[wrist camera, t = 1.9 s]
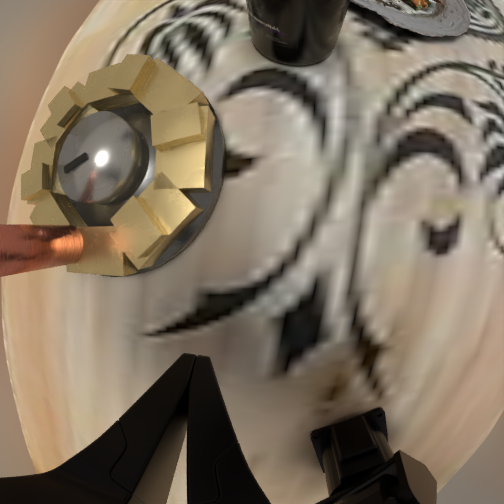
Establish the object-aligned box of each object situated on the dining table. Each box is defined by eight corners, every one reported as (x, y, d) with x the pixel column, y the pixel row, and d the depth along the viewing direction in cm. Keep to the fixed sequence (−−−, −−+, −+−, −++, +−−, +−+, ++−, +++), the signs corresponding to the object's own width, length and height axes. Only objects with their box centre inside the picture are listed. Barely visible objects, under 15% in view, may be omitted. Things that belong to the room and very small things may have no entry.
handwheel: (219, 60, 16) (184, -37, 6) (211, 275, 17) (139, 323, 7) (60, 98, 17) (-9, 60, 7) (43, 265, 18) (-45, 280, 8)
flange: (274, 174, 18) (274, 154, 13) (114, 313, 19) (79, 332, 14) (153, 50, 17) (131, 20, 13) (35, 174, 19) (2, 167, 14)
